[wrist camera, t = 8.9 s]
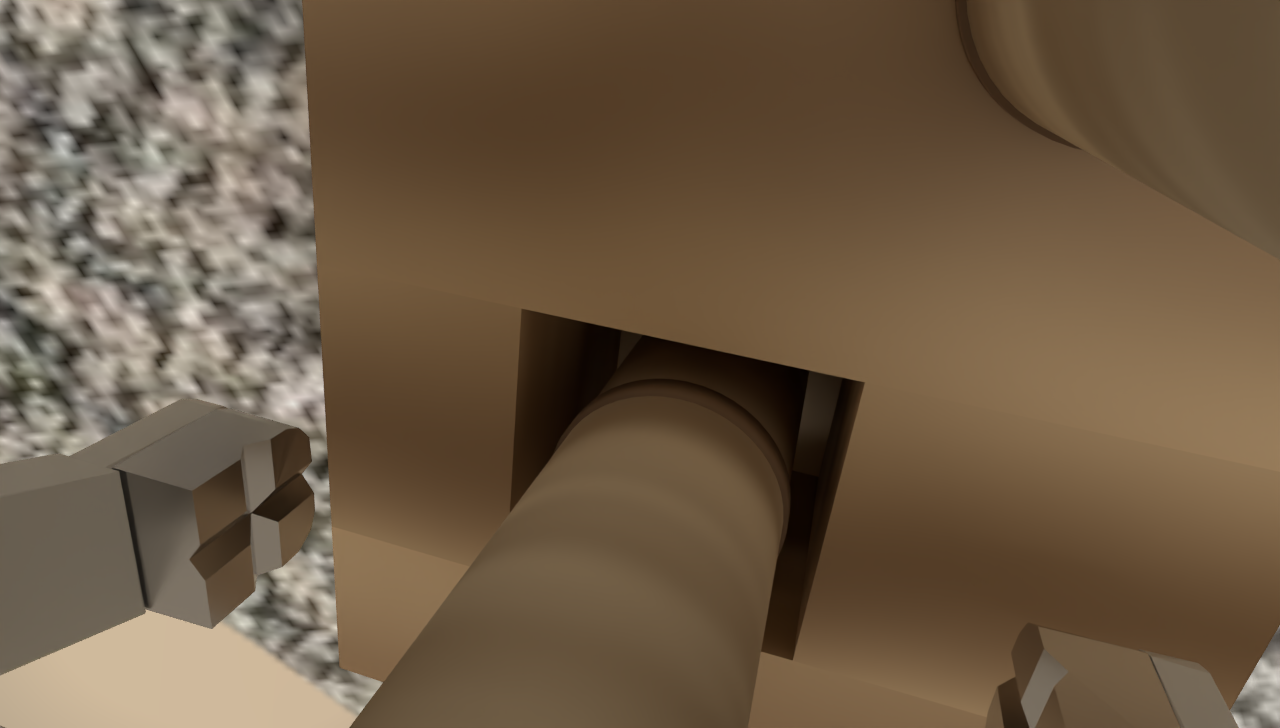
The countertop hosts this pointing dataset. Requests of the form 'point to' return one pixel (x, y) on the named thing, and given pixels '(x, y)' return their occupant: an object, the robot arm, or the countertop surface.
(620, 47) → the wooden peg hole block
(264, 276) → the countertop surface
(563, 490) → the peg
